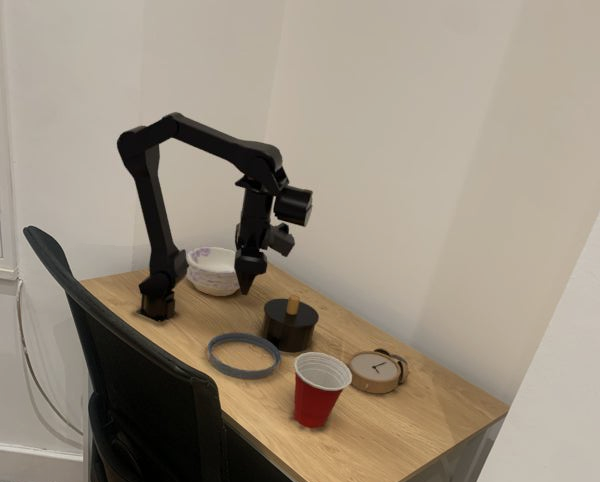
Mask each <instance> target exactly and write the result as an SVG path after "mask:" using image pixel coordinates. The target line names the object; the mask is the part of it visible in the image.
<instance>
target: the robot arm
mask: <svg viewBox="0 0 600 482" xmlns="http://www.w3.org/2000/svg"><path fill="white" fill-rule="evenodd" d="M170 139H174V140H177V141H179V142H181V143H184V144H185V145H188V146H191V147H193V148H196V149H198V150H200V151H203V152H205V153H208V154H210V155H212V156H215V157H217V158H219V159H221V160H224V161H226V162H228V163H230V164H231V165H233V166H234V168H236V169H237V170H238V171H239V172H240V173H242V174H243V176H241V177H240V178H239V179H237V180H236V181H235V182H234V186H236V187H239V188H241V189H244V193H243V199H242V207H241V210H240V215H239V223H237V224H236V225H235V231H234V232H235V233H234V245H235V250H236V251H235V259H234V270H235V272H236V276H237V279H238V283H239V286H240V288H239V290H240V294H241V295H242V296H248V294H249V292H250V289H251V288H252V286H253V283H254V282H255V279H256V277H257V276H260V275H261V276H262V275H264V274H266V273H267V269H268V264H269V263H268V256H267V254H265V252H264V251H268V248H269V249H271V250H273V251H274V252H277V253H278V254H280V255H281V256H282V257H284V258H287V257H288V256H289V255H290V253H291V252H292V250H293V249H294V248H295V245H296V241H295V237H294V236H293V234H292V233H290V226H289V224H293V225H297V226H300V227H303V228H306V227H307V226H308V224H309V221H310V217H311V214H312V210H313V194H314V191H313V190H312V189H306V188H304V189H303V188H300V187H296V186H292V185H290V183H291V182H290V180H289V177H288V175H287V172H286V170H285V168H284V166H283V161H284V160H283V155H282V154H281V151H280V149H279V148H278V147H277V146H275V145H273V144H270V143H265V142H261V141H256V140H245V139H240V138H237V137H235V136H232V135H230V134H229V133H228V134H227V133H225V132H223V131H221V130H218V129H216V128H214V127H211V126H208V125H206V124H203V123H201V122H199V121H196V120H194V119H192V118H189V117H187V116H185V115H184V114H183V113H181V112H178V111H174V112H170V113H168V114H165V115H164V116H162V117H161V119H159V120H157V121H155V122H153V123H151V124H149V125H138V126H136V127H133V128H130V129H128V130H125V131H123V132H122V133H121V134H119V136H118V137H117V140H116V149H117V152H118V154H119V157H120V160H121V162H122V164H123V166H124V168H125V169H126V171H127V172H128V173H129V175H130V176H131V177H132V179H133V181H134V184H135V189H136V193H137V196H138V197H137V198H138V201H139V205H140V209H141V213H142V218H143V222H144V225H145V229H146V234H147V237H148V238H147V239H148V242H149V246H150V255H149V261H148V262H149V263H148V268H149V275H148V276H147V277H145V278H144V279H143V280H142V281H141V282H140V283H138V285H137V286H138V290H139V293H140V295H141V302H140V303H141V304H140V309H138V310H136V311H135V312H136V314H139V315H141V316H143V317H145V318H148V319H150V320H152V321H154V322H157V323H162V322H164V321H167V320H169V319H171V318H173V317H174V316H175V315H176V314H177V311H175V309H176V299H175V291H174V289H175V288H176V287H177V286H178V285H180V283H181V282H182V281H184V279H185V278H186V275H187V268H188V267H189V264H188V263H187V260H186V259H187V258H186V257H187V252H186V249H185V248H182V249H179V248H178V247H177V246H176V244H175V243H174V239H173V235H172V231H171V227H170V226H171V225H170V223H169V222H170V221H169V217H168V213H167V208H166V205H165V200H164V196H163V191H162V187H161V182H160V178H159V168H160V160H161V153H160V152H161V151H160V145H161V144H163V143H165V142H167V141H169V140H170ZM272 212H273V214H274V217H275V218H276V219H277V220H278V221H281V223H279V224H277V225H273V224H272V223H271V222H272V218H271V216H272ZM260 250H262V251H260Z"/></svg>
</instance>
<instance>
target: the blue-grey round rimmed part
mask: <svg viewBox="0 0 600 482" xmlns="http://www.w3.org/2000/svg"><path fill="white" fill-rule="evenodd" d="M227 343H228V344H229V343H244V344H250V345H252V346H256V347H258V348H261V349H263V351H265V352H267V353H268V354H269V355H270V356H271V357H272V359H273V361H274V363H273V365H271V366H269V367H267V368H264V369H255V370H251V369H250V370H249V369H242V368H241V369H240V368H236V367H232V366H230V365H228V364H225V363H223V362H222V361H220V360H219V359H218V358H217V357H216V356H215V355H214V354H213V351H214V349H216V348H217V347H218V346H221V345H224V344H227ZM206 358H207V359H206V360H207V361H208V363H209V364H210V365H211V367H212V368H213V369H215V370H216V371H217V372H219V373H221V374H223V375H225V376H227V377H230V378H235V379H238V380H246V381H257V380H263V379H267V378H269V377H271V376H273V375H274V374H275V373H276V372H277V371H278V369H279V368H280V363H281V359H282V358H281V351H279V350H278V349H277V348H276V347H275V346H274V345H273V344H272V343H271V342H269V341H268V340H266V339H264V338H261V336H259V335H256V334H252V333H247V332H241V331H240V332H239V331H231V332H225V333H221V334H218V335H215V336H214V337H213V338H211V339H210V341H209V342H208V344H207V349H206Z"/></svg>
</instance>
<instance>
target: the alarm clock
mask: <svg viewBox="0 0 600 482" xmlns="http://www.w3.org/2000/svg"><path fill="white" fill-rule="evenodd" d="M396 360H397V361H396ZM347 363H348V364H347V367H348V368H349V370H350V372H351V374H352V381H351V383H350V385H352V386H354V387H356V388H357V389H358V390H361V391H364V392H365V393H366V392H367V393H370V394H385V393H390V392H392V391H393V390H395V389H396V388H397V386H398V384H400V383H404V382H406V381H407V379H408V378H409V375H410V374H411V371H410V369H409V362H408V361H407V360H406V359H405V358H404V357H402V356H400V355H398V354H394V353H391V352H390V351H389V350H388V349H386V348H384V347H377V348H376V349H374V350H361V351H357V352H354V353H353V354H351V356H350V357H349V359H348V362H347Z"/></svg>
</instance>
